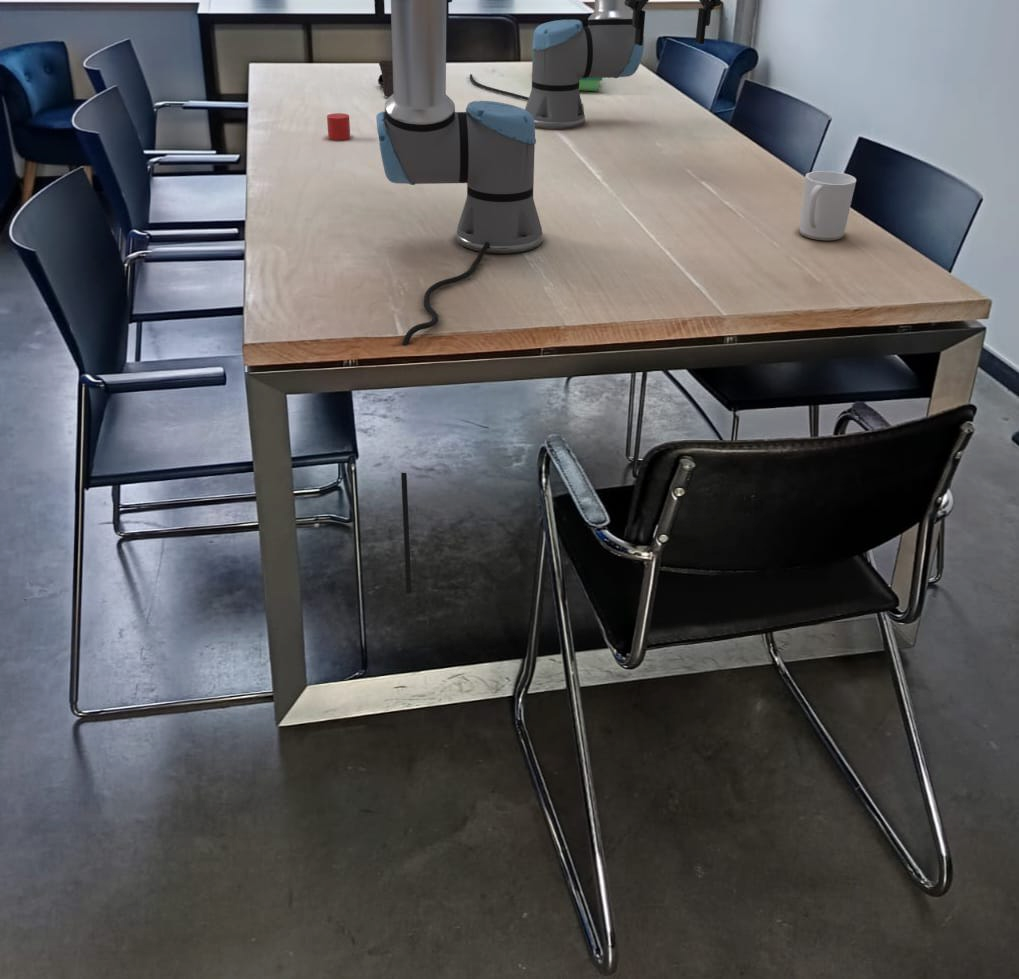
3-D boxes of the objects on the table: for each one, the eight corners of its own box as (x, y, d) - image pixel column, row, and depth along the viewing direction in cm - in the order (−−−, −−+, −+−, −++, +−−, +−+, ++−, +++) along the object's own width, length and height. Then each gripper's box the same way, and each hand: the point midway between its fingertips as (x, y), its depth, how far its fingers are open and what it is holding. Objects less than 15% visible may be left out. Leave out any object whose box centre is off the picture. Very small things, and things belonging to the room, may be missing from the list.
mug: (809, 222, 208) (818, 168, 202) (854, 233, 203) (864, 177, 197) (782, 236, 200) (791, 180, 195) (827, 247, 195) (838, 190, 190)
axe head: (443, 87, 294) (392, 77, 287) (436, 115, 299) (385, 106, 292) (421, 62, 307) (371, 52, 300) (414, 89, 311) (365, 80, 304)
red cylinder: (351, 140, 254) (350, 118, 252) (329, 140, 253) (327, 118, 251) (349, 134, 259) (347, 112, 256) (327, 135, 257) (325, 113, 255)
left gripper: (479, -106, 199) (479, 20, 209) (357, -110, 206) (362, 12, 217) (463, -104, 193) (463, 25, 203) (337, -109, 200) (344, 16, 211)
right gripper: (627, -69, 210) (618, 48, 221) (746, -69, 216) (732, 45, 227) (613, -73, 216) (606, 41, 227) (730, -73, 222) (717, 38, 233)
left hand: (411, 18), depth 210 cm, fingers open, 13 cm apart
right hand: (669, 43), depth 227 cm, fingers open, 13 cm apart
